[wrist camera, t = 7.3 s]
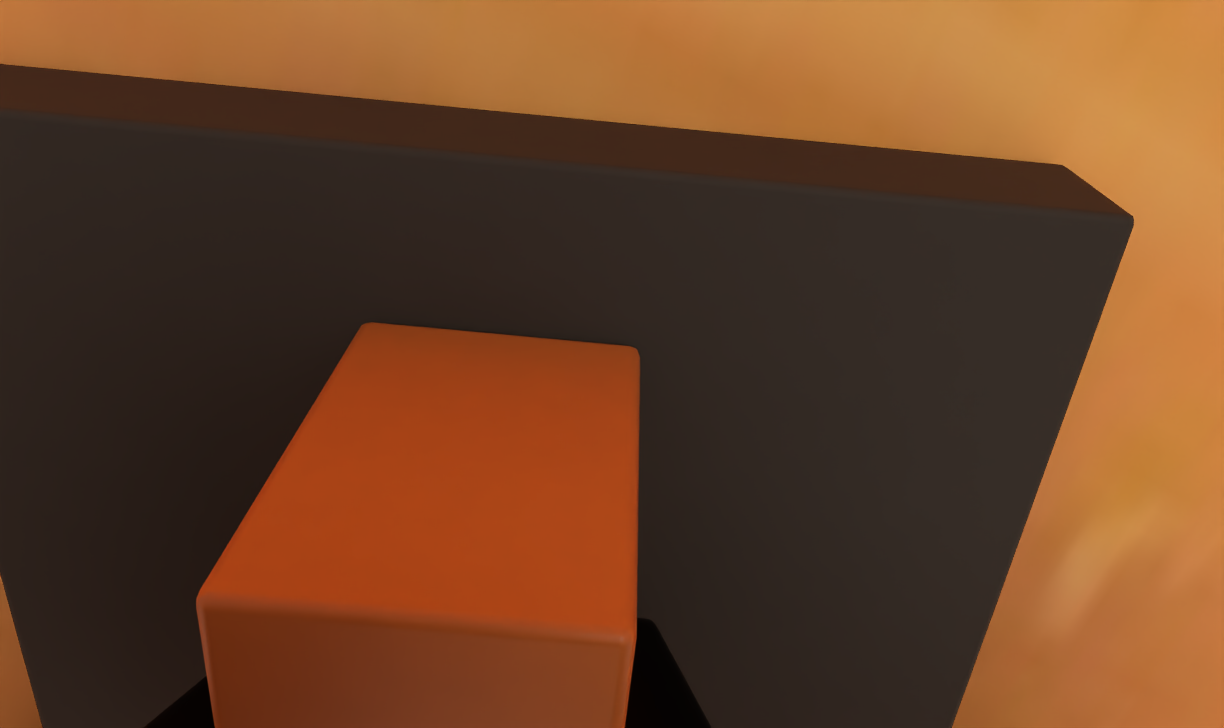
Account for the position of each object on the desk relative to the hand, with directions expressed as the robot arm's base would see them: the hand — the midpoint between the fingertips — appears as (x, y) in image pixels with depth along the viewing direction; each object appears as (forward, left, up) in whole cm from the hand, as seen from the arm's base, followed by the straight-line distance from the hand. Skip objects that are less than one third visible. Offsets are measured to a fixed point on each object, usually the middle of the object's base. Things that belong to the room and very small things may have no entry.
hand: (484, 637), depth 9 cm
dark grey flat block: (0, +2, -2) cm, 3 cm away
